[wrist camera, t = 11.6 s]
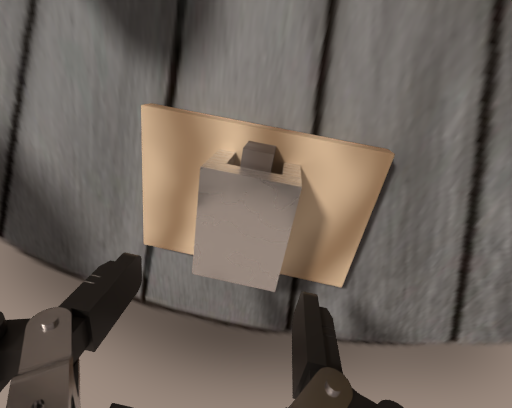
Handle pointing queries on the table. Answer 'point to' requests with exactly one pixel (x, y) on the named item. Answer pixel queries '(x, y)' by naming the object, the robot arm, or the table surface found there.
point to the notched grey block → (244, 221)
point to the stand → (269, 160)
